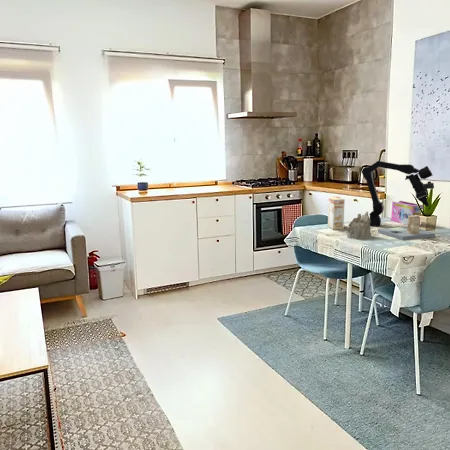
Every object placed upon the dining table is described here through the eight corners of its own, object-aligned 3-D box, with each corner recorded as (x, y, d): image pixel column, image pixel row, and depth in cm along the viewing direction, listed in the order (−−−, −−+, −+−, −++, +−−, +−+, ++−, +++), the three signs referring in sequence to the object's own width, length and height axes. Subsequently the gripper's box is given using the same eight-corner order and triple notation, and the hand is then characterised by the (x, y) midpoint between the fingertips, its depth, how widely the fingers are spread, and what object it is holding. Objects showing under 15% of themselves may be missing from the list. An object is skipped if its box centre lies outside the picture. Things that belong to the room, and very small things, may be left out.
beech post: (407, 232, 247) (408, 215, 245) (413, 232, 249) (414, 215, 247) (412, 234, 243) (413, 217, 241) (418, 233, 244) (420, 216, 242)
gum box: (389, 220, 298) (390, 201, 295) (399, 219, 300) (400, 200, 297) (411, 226, 275) (413, 205, 273) (422, 225, 277) (423, 205, 274)
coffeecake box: (343, 229, 269) (345, 199, 265) (332, 229, 269) (333, 199, 265) (338, 225, 283) (339, 196, 280) (327, 225, 283) (328, 196, 280)
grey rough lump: (357, 231, 262) (357, 207, 258) (376, 237, 248) (377, 212, 244) (337, 235, 256) (337, 211, 252) (356, 242, 241) (356, 216, 238)
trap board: (377, 232, 259) (378, 229, 259) (408, 229, 265) (408, 226, 265) (402, 239, 238) (402, 236, 238) (435, 236, 245) (435, 233, 244)
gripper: (428, 178, 252) (441, 201, 251) (429, 175, 268) (441, 197, 268) (410, 186, 257) (422, 209, 257) (412, 183, 274) (423, 205, 273)
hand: (428, 205), depth 263 cm, fingers open, 9 cm apart
